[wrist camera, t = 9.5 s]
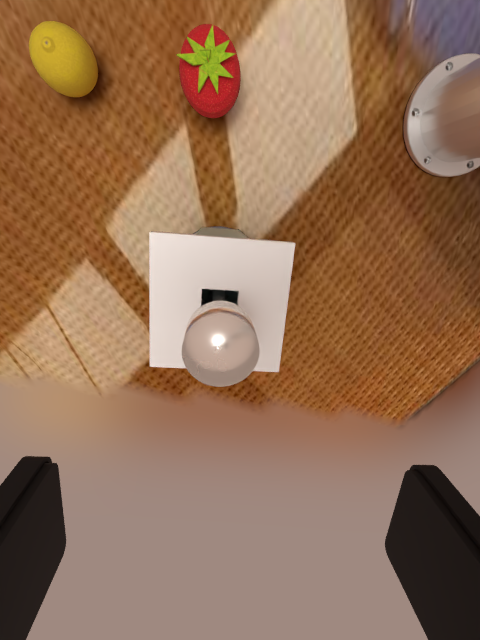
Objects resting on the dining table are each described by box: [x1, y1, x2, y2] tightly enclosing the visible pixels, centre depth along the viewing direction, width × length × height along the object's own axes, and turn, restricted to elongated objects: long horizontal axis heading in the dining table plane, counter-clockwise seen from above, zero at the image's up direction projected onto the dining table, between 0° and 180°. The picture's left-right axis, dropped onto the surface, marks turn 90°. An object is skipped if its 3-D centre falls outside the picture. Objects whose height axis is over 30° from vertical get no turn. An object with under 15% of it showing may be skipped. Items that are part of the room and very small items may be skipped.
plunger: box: [182, 289, 260, 387], centre depth 30 cm, size 8×8×24 cm
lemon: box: [29, 21, 98, 97], centre depth 33 cm, size 6×6×8 cm
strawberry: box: [176, 24, 241, 118], centre depth 33 cm, size 6×8×10 cm
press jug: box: [150, 226, 295, 372], centre depth 36 cm, size 14×11×17 cm
